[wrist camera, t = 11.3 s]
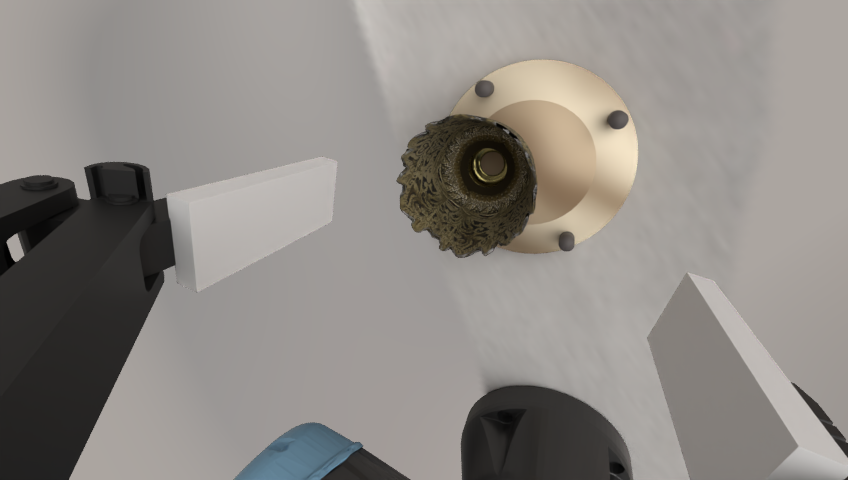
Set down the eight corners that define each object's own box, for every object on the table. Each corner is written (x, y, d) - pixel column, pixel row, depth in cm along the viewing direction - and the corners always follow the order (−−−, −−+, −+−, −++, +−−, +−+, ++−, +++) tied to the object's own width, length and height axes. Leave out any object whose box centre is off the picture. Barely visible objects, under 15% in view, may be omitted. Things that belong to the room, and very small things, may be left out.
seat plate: (588, 269, 27) (588, 286, 25) (429, 215, 30) (417, 226, 28) (674, 85, 21) (686, 84, 19) (467, 43, 25) (455, 39, 22)
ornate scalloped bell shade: (423, 169, 27) (372, 197, 21) (484, 83, 24) (446, 81, 17) (499, 233, 27) (472, 283, 20) (573, 155, 23) (571, 184, 16)
